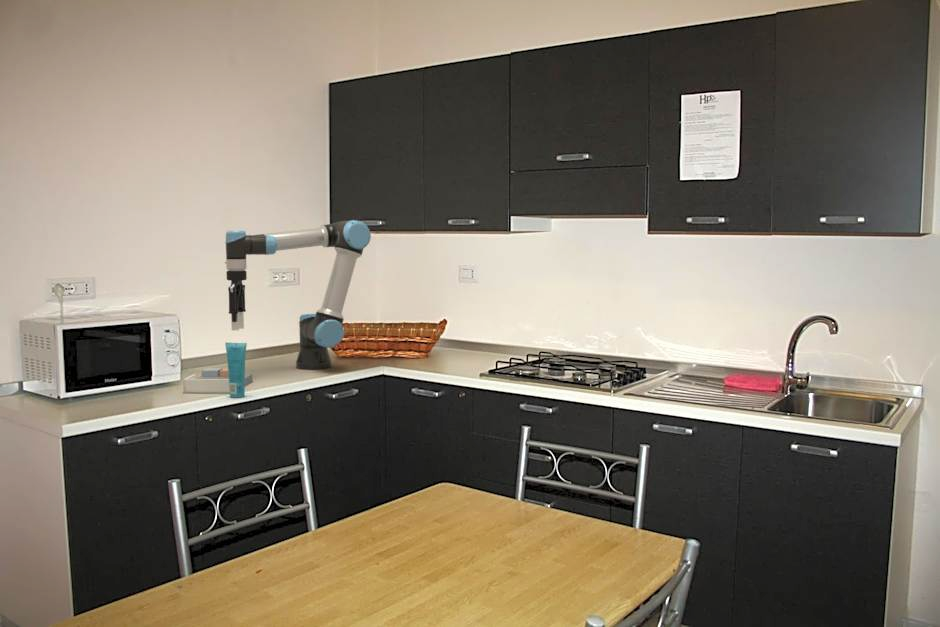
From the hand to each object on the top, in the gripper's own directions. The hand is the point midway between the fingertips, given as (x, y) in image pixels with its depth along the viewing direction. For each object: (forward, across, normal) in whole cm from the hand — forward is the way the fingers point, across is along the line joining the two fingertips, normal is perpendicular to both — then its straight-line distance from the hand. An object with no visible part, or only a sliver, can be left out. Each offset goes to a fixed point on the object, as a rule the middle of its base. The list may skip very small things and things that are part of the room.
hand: (237, 329), depth 319 cm
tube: (+20, +34, +10) cm, 41 cm away
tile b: (+17, +10, -7) cm, 21 cm away
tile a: (+17, +10, 0) cm, 20 cm away
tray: (+20, +24, -2) cm, 31 cm away
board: (+20, +12, -2) cm, 23 cm away
